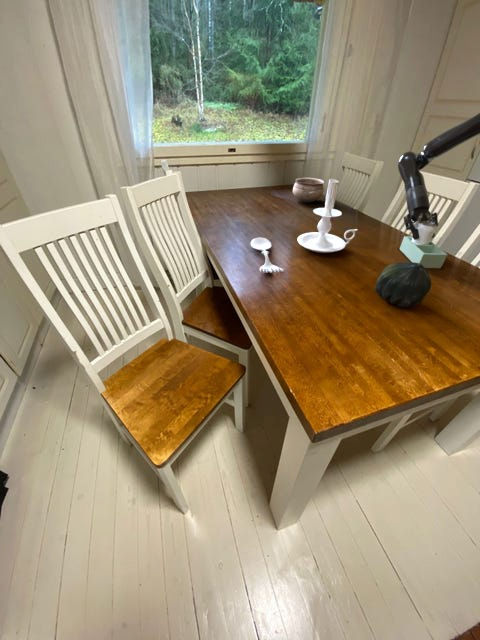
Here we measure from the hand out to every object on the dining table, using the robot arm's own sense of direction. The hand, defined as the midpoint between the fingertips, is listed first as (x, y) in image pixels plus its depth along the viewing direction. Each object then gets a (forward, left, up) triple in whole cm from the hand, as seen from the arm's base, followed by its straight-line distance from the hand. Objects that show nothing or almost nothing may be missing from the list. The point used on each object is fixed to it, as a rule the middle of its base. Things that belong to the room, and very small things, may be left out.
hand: (424, 238), depth 112 cm
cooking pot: (+36, -75, -8) cm, 84 cm away
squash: (+22, +35, -8) cm, 42 cm away
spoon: (+65, +8, -8) cm, 66 cm away
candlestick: (+38, -4, -8) cm, 39 cm away
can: (0, -1, -6) cm, 7 cm away
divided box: (0, +3, -7) cm, 8 cm away
